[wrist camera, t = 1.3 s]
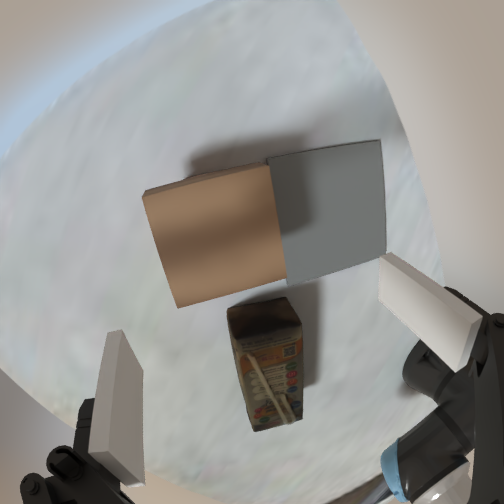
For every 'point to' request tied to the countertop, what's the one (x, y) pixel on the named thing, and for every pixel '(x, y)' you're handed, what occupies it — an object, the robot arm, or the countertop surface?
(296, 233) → the mat
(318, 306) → the countertop surface
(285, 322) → the beverage carton
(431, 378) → the robot arm
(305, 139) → the countertop surface
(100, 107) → the countertop surface
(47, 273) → the countertop surface
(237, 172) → the lid
